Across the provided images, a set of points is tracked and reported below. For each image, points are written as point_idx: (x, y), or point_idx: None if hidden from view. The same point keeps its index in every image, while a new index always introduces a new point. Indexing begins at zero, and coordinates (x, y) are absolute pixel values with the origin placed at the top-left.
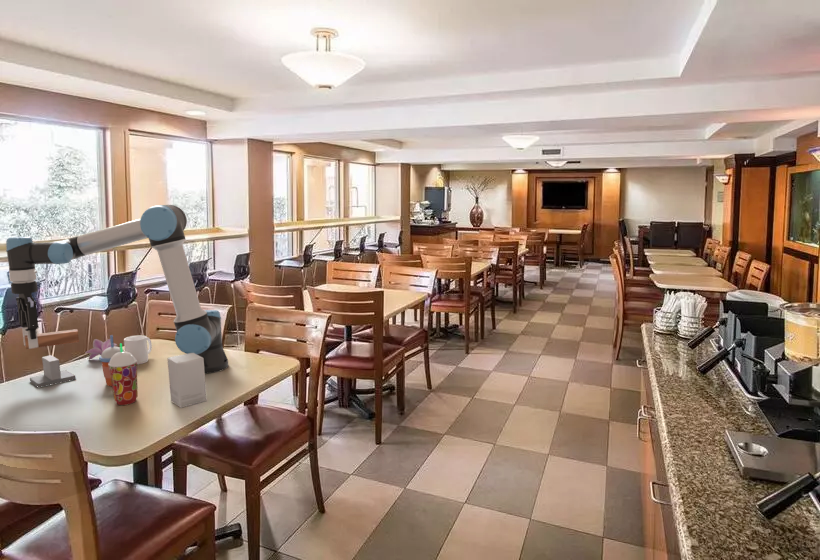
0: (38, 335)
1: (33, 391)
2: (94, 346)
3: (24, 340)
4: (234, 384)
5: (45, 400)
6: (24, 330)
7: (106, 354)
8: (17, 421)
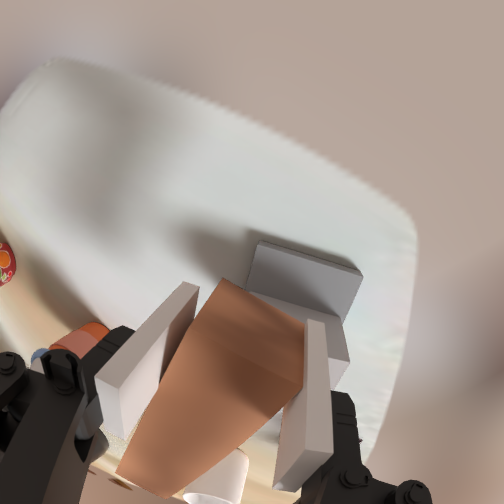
0: (181, 411)
1: (236, 208)
2: None
3: (306, 348)
4: None
5: (117, 177)
6: (299, 431)
7: (34, 367)
8: (59, 77)
